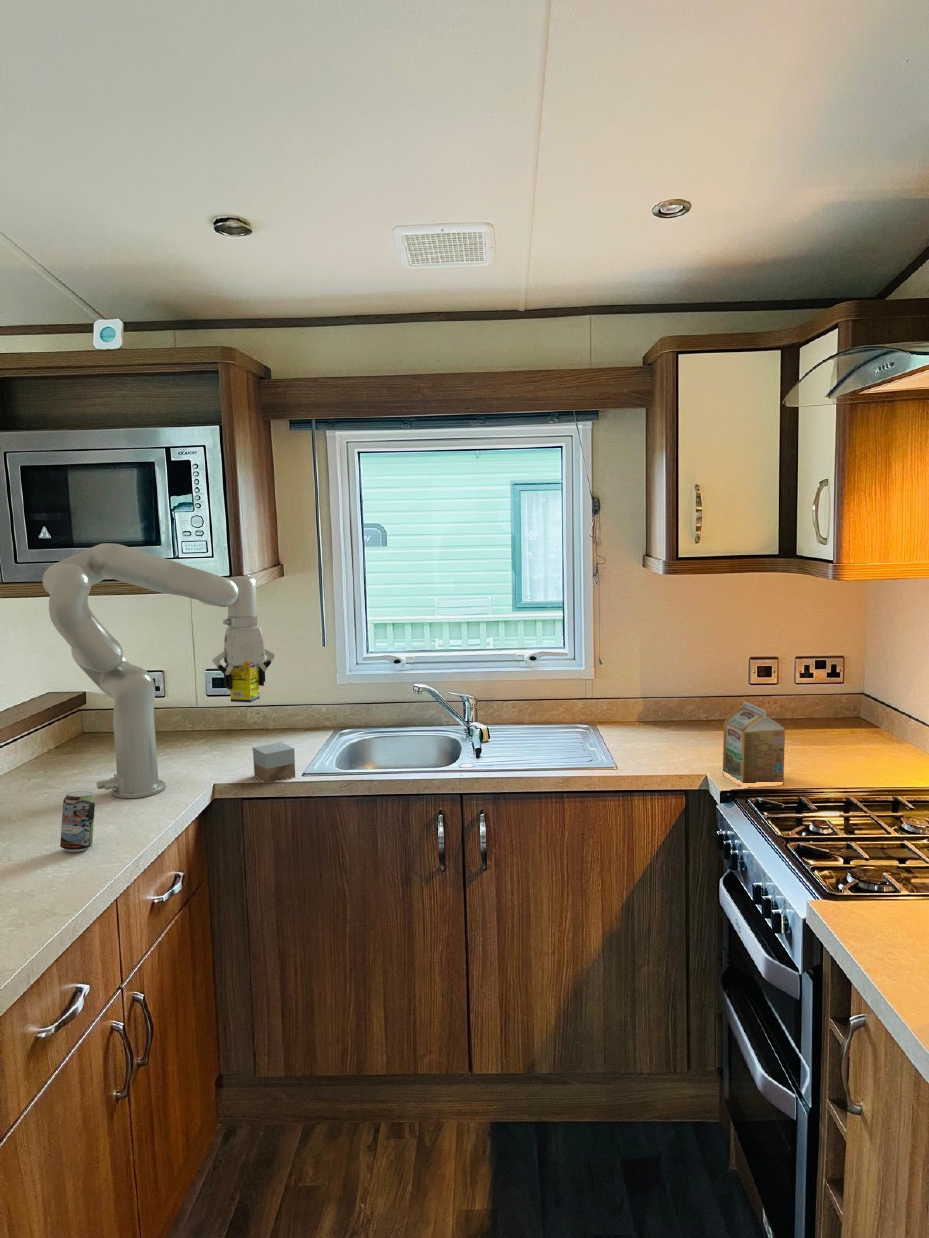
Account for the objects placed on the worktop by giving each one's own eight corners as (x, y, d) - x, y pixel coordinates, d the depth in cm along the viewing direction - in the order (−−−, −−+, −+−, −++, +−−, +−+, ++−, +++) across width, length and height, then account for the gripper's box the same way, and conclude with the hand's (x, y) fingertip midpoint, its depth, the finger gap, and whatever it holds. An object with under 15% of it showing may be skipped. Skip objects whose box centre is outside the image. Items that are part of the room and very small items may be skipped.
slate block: (266, 769, 216) (265, 754, 215) (253, 762, 222) (252, 747, 222) (294, 763, 221) (294, 748, 220) (281, 756, 227) (281, 742, 226)
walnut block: (266, 784, 216) (265, 769, 216) (254, 777, 223) (253, 762, 222) (295, 778, 221) (294, 763, 220) (283, 771, 227) (282, 756, 227)
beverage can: (54, 853, 173) (49, 797, 171) (81, 840, 180) (77, 785, 178) (77, 857, 171) (73, 800, 169) (105, 844, 177) (100, 788, 176)
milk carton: (783, 785, 206) (785, 709, 204) (743, 788, 205) (744, 711, 202) (761, 772, 217) (763, 700, 214) (722, 775, 215) (724, 702, 213)
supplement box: (250, 703, 225) (249, 662, 224) (230, 702, 226) (228, 661, 225) (260, 698, 231) (259, 658, 229) (240, 697, 232) (238, 658, 231)
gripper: (214, 626, 218) (217, 692, 220) (279, 621, 228) (281, 685, 230) (206, 623, 224) (208, 688, 226) (269, 619, 234) (270, 681, 236)
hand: (245, 686), depth 228 cm, fingers closed on supplement box, 8 cm apart
